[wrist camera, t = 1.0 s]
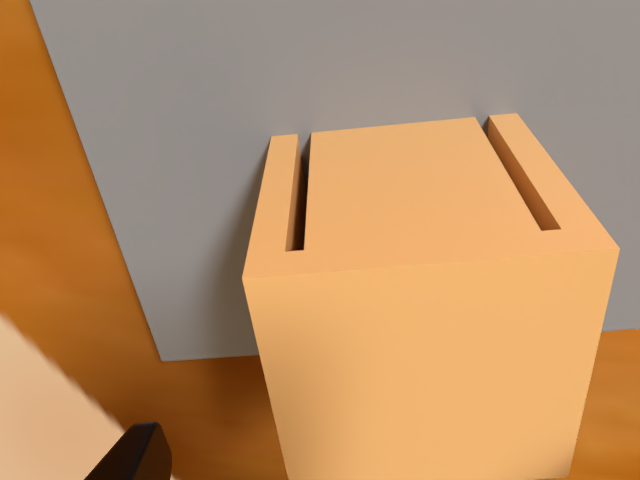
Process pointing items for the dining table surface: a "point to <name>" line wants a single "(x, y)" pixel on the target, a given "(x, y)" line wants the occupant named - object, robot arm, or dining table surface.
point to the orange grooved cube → (426, 302)
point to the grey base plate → (324, 120)
